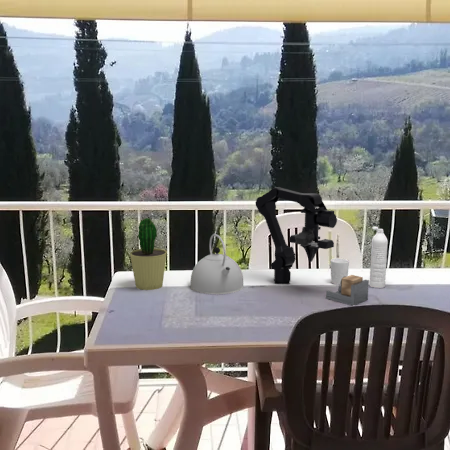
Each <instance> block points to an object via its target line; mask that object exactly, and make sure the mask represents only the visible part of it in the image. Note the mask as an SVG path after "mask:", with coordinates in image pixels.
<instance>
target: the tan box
mask: <svg viewBox="0 0 450 450" xmlns="http://www.w3.org/2000/svg"><path fill="white" fill-rule="evenodd" d="M363 280H364V278H363V276H359V275H354V274H350V275H348V276H347V277H346V276H344V277H343V278H342V279H341V283H340V285H339V286H341V288H342V289H341V294H343V295H347V296H351V285H353V284H355V283H358V282H360V281H363Z"/></svg>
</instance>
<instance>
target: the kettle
mask: <svg viewBox="0 0 450 450" xmlns="http://www.w3.org/2000/svg"><path fill="white" fill-rule="evenodd" d="M214 237H216V238H218V239H219V240H220V242H221V244H222V249H223V254H221V253H220V252H221V249H220V247H218V246H217V247H215V248H213V251H212V242H213V238H214ZM213 252H214V253H213ZM226 254H227V253H226V246H225V241H224V240H223V238H222V237H221V236H220V235H219V234H216V233H212V235H211V236H210V238H209V254H208V255H206V256H204V257H203V258H201V259H200V260H199V261H198V262H197V263H196V264H195V265H194V267H193V269H192V272H191V275H190V289H191V290H192V291H194V292H196V293H200V294H205V295H217V296H218V295H229V294H233V293H234V294H235V293H238V292H240V291H242V290H244V275H243V272H242V269H241V267H240V266H239V264H238V263H237V262H236V261H235V260H234V259H233V258H231V257H230V256H228V255H226Z"/></svg>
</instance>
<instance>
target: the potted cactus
mask: <svg viewBox="0 0 450 450" xmlns="http://www.w3.org/2000/svg"><path fill="white" fill-rule="evenodd" d="M153 220H154V219H152V218H151V217H150V218H149V217H145V218H142V220H140V221H139V222H138V223H137V226H138V227H136V229H138V230H137V232H138V233H137V241H138V246H139V248H138V249H135V250H132V251H130V253H129V255H130V261H131V267H132V272H133V277H134V278H133V279H134V284H135V287H136V288H137V289H138V290H141V291H153V290H159V289H161V288H162V287H163V285H164V284H163V283H164V277H165V276H164V275H165V269H166V261H167V253H168V251H167V250H165V249H163V248H155V246H156V244H157V238H158V237H159V234H160V232H159V231H158V228H157V226H156V224H155V223H154V221H153ZM137 241H136V242H137Z"/></svg>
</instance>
